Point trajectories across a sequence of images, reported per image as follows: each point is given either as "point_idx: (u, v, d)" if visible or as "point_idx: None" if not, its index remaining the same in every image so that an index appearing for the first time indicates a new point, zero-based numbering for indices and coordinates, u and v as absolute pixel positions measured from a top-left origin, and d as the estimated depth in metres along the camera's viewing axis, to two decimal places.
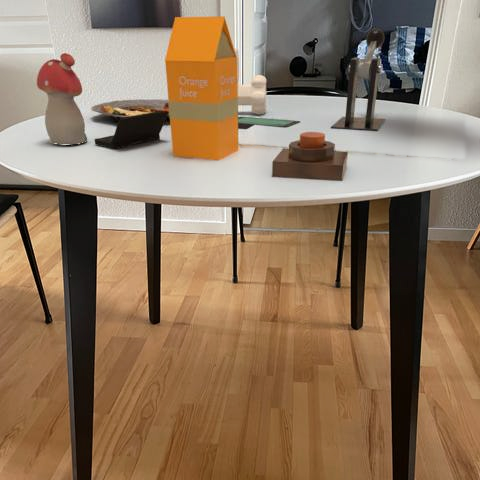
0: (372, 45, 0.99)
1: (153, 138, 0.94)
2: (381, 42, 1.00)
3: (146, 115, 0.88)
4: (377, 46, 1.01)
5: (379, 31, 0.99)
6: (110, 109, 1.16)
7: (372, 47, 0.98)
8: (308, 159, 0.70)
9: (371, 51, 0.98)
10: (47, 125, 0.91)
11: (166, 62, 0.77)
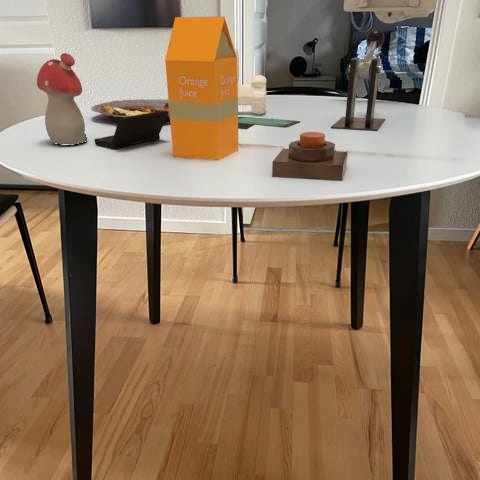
0: (372, 45, 0.99)
1: (153, 138, 0.94)
2: (381, 42, 1.00)
3: (146, 115, 0.88)
4: (377, 46, 1.01)
5: (379, 31, 0.99)
6: (110, 109, 1.16)
7: (372, 47, 0.98)
8: (308, 159, 0.70)
9: (371, 51, 0.98)
10: (47, 125, 0.91)
11: (166, 62, 0.77)
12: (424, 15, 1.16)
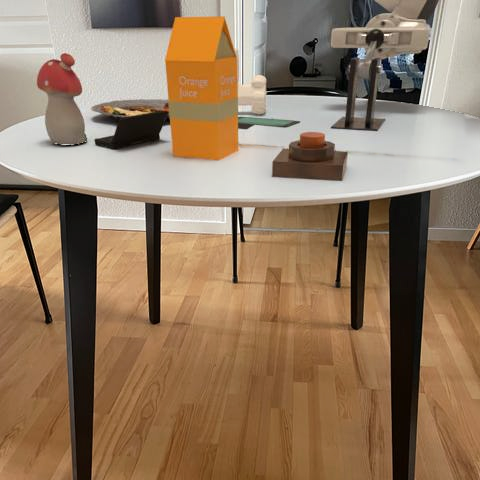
0: (372, 45, 0.99)
1: (153, 138, 0.94)
2: (381, 42, 1.00)
3: (146, 115, 0.88)
4: (377, 46, 1.01)
5: (379, 31, 0.99)
6: (110, 109, 1.16)
7: (372, 47, 0.98)
8: (308, 159, 0.70)
9: (371, 51, 0.98)
10: (47, 125, 0.91)
11: (166, 62, 0.77)
12: (416, 51, 1.09)
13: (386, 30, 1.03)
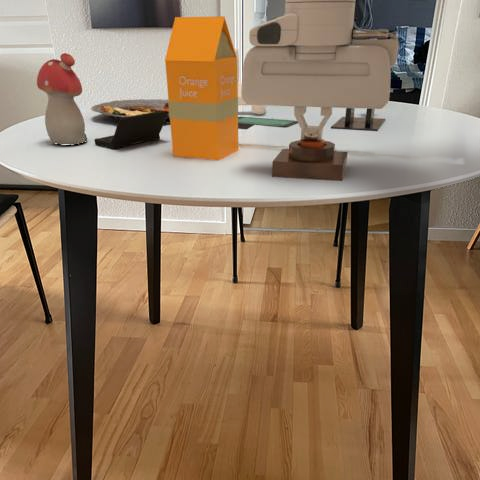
0: None
1: (153, 138, 0.94)
2: None
3: (146, 115, 0.88)
4: None
5: None
6: (110, 109, 1.16)
7: None
8: (308, 159, 0.70)
9: None
10: (47, 125, 0.91)
11: (166, 62, 0.77)
12: (255, 45, 0.65)
13: None
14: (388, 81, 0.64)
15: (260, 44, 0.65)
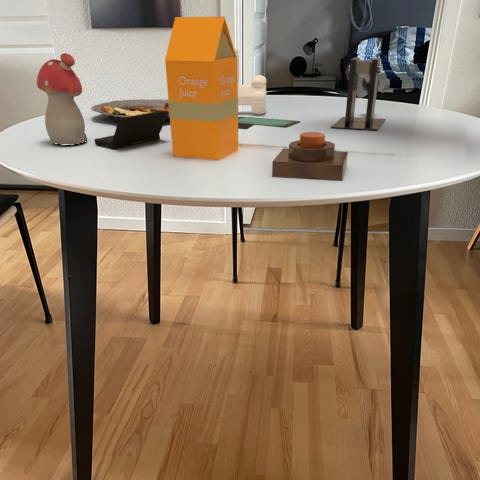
0: None
1: (153, 138, 0.94)
2: None
3: (146, 115, 0.88)
4: None
5: None
6: (110, 109, 1.16)
7: None
8: (308, 159, 0.70)
9: None
10: (47, 125, 0.91)
11: (166, 62, 0.77)
12: None
13: None
14: None
15: None
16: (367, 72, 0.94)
